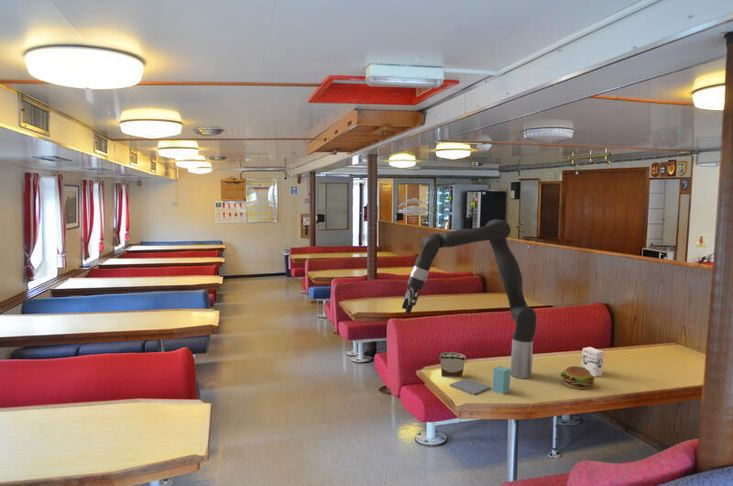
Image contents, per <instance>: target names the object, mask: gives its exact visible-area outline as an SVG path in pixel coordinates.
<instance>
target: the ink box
mask: <svg viewBox="0 0 733 486" xmlns="http://www.w3.org/2000/svg"><path fill="white" fill-rule="evenodd" d="M603 365H604V351H603V350H600V349H597V348H594V347H592V346H588V347H583V348H582V353H581V366H580V367H582V368H585V369H587V370H588V371H589V372H590V373H591V375H593V376H595V378H596V376H597V377H601V375H602V376H603Z"/></svg>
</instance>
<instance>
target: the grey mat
mask: <svg viewBox="0 0 733 486" xmlns="http://www.w3.org/2000/svg"><path fill="white" fill-rule="evenodd" d="M449 387H451V388H453V389H457V390H459V391H461V392H465V393H467V394H469V395H473V396H476V395H478V394H480V393H483V392H485V391H488V390H490V389H492V386H490V385H487V384H484V383H482V382H480V381H475V380H473V379H471V378H468V377H467V378H463V379H461V380H458V381H455V382H452V383H449Z"/></svg>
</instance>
